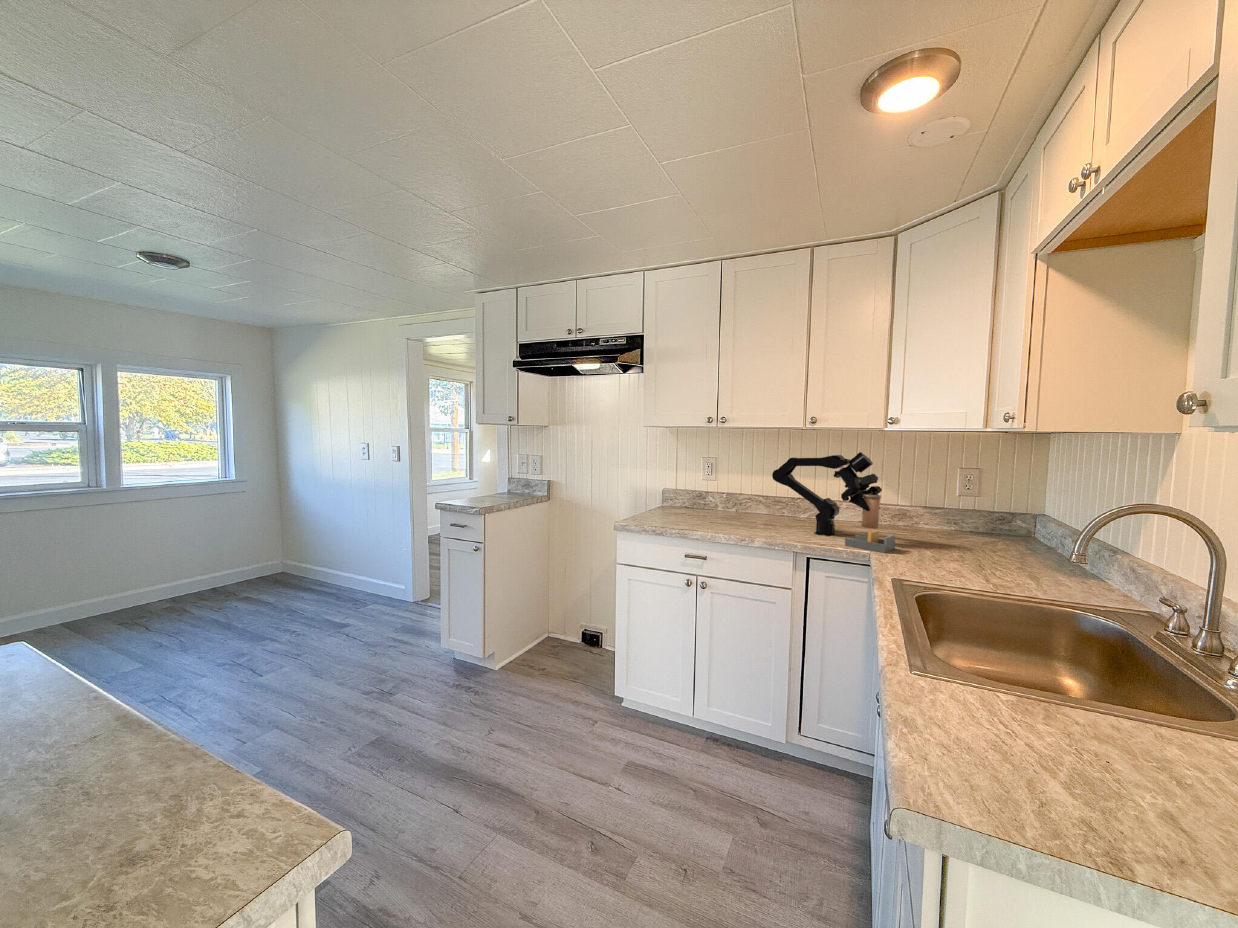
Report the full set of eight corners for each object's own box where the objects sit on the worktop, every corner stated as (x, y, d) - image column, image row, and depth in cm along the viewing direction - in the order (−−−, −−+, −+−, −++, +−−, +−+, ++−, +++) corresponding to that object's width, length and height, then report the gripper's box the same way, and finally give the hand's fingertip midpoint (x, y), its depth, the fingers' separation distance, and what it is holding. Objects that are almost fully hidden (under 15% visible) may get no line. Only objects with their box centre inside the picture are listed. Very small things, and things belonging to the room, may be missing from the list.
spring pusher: (867, 547, 185) (867, 532, 184) (874, 544, 190) (875, 530, 190) (870, 547, 184) (871, 533, 184) (878, 544, 189) (878, 530, 189)
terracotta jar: (858, 526, 196) (860, 494, 195) (864, 524, 201) (866, 493, 200) (875, 529, 192) (877, 496, 191) (881, 527, 196) (883, 495, 195)
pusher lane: (844, 545, 190) (845, 531, 189) (855, 542, 197) (855, 528, 196) (885, 553, 179) (886, 538, 179) (894, 548, 186) (895, 534, 186)
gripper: (849, 467, 193) (873, 499, 185) (879, 466, 202) (903, 496, 193) (831, 484, 201) (853, 516, 192) (860, 483, 210) (883, 513, 201)
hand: (874, 510), depth 194 cm, fingers closed on terracotta jar, 6 cm apart
